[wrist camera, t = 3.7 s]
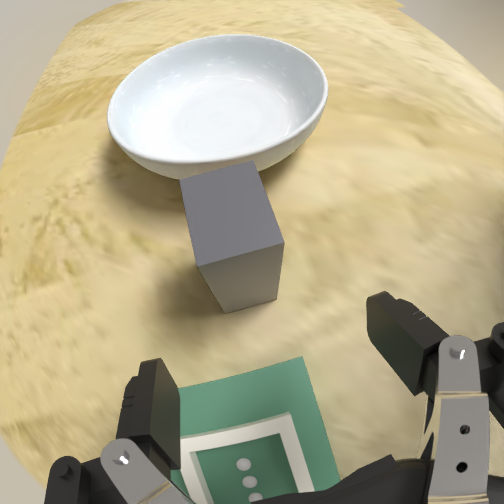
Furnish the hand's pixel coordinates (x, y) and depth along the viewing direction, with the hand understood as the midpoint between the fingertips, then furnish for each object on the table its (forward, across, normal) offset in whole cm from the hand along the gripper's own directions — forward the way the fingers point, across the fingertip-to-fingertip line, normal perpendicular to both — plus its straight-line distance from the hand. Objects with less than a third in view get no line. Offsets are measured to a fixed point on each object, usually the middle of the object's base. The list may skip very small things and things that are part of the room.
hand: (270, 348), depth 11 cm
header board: (+2, +4, +14) cm, 14 cm away
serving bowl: (+24, -2, -9) cm, 26 cm away
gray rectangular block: (+13, 0, +3) cm, 13 cm away
